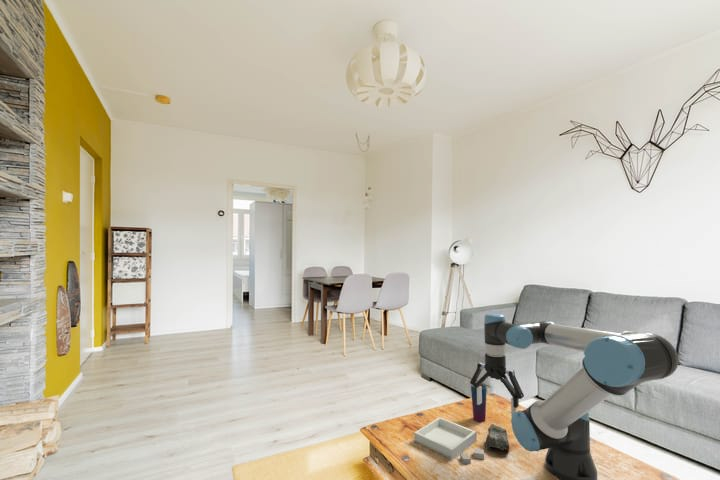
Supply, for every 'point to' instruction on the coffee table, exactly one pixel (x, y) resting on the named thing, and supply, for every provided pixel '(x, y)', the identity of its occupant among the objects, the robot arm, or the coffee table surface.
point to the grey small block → (478, 453)
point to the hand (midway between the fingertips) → (496, 409)
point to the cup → (479, 410)
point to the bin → (445, 437)
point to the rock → (497, 438)
